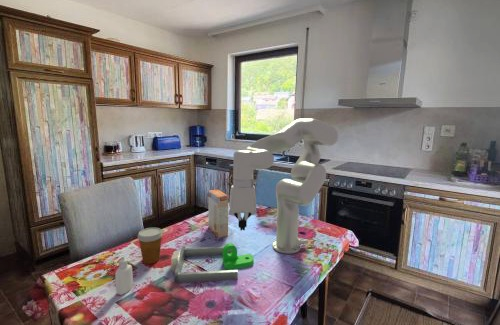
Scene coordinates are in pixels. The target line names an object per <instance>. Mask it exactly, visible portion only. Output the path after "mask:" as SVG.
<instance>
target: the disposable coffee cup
mask: <svg viewBox="0 0 500 325" xmlns="http://www.w3.org/2000/svg"><path fill="white" fill-rule="evenodd" d="M163 234H164V232H162V229H161V228H159V227H147V228H144V229H143V228H142V229H141V230H139V232H138V234H137V239H138V242H139V247H140V253H141V257H142V263H144V264H150V265H151V264H154V263H157V262H158V261H159V260H160V256H161V248H162V247H161V245H162V237H163Z"/></svg>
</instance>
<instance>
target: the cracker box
mask: <svg viewBox="0 0 500 325" xmlns="http://www.w3.org/2000/svg"><path fill="white" fill-rule="evenodd" d="M207 199H208V229H209V230H210V232H212V234H214V236H215V237H216V238H218V239H219V238H225V237H229V236H228V235H229V195H228V194H226V193H224V192H223V191H221V190H220V189H219V188H218V189H210V190H208V198H207Z"/></svg>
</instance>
